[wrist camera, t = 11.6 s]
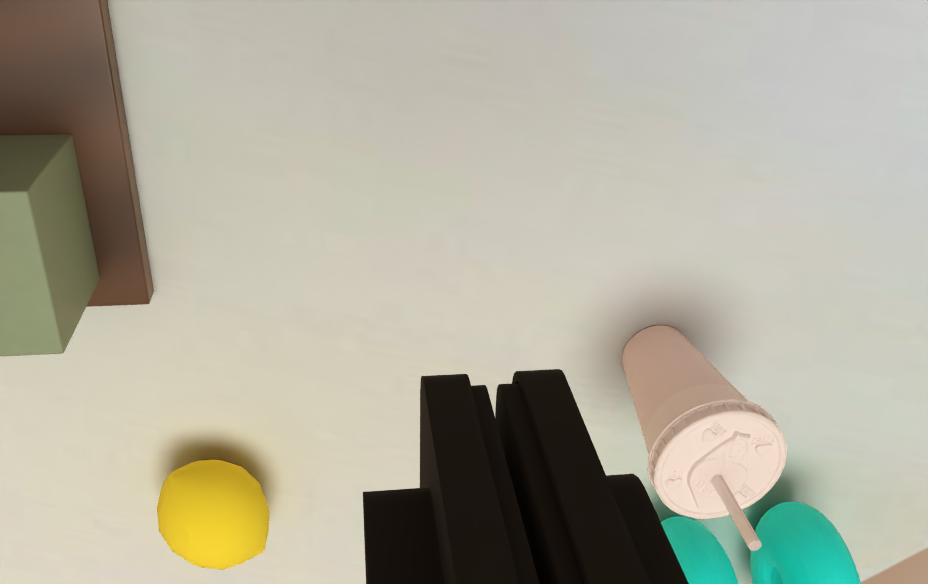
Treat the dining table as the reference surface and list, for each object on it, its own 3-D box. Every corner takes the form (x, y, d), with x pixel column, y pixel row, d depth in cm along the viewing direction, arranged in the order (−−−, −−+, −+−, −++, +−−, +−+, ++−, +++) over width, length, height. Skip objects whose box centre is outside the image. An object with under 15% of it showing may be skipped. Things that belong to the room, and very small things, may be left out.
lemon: (139, 468, 48) (118, 540, 43) (215, 416, 47) (202, 484, 42) (227, 540, 51) (217, 614, 46) (300, 492, 50) (297, 563, 46)
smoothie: (579, 387, 49) (660, 578, 37) (628, 290, 47) (733, 461, 34) (678, 411, 51) (786, 601, 39) (731, 319, 48) (865, 492, 36)
